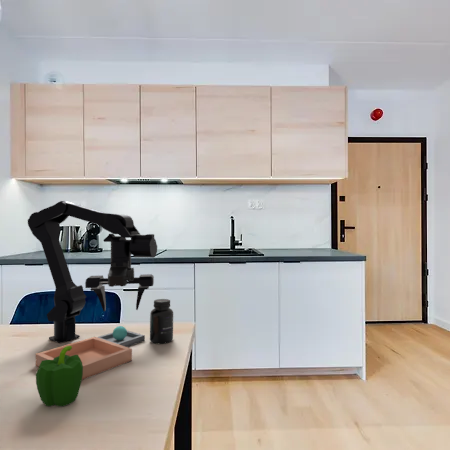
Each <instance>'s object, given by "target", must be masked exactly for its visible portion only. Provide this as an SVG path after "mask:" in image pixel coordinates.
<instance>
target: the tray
mask: <svg viewBox="0 0 450 450" xmlns="http://www.w3.org/2000/svg"><path fill="white" fill-rule="evenodd" d="M96 337H97V338H100V339H104V340H107V341H110V342H113V343H116V344H119V345H122V346H125V347H128V348H129V347H131V346H133V345H136V344H139V343H142V342H144V341H145V338H146V336H145V334H141V333H137V332H134V331H130V330H127V335H126V337H125V338H124V339H123V340H116V339H115V338H114V337H113V332H110V333H107V334H104V335H103V334H102V335H99V336H96Z"/></svg>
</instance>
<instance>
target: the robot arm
mask: <svg viewBox="0 0 450 450" xmlns="http://www.w3.org/2000/svg"><path fill="white" fill-rule="evenodd" d="M69 217H71V218H75V219H77V220H78V219H79V220H82V221H84V222H88V223H92V224H95V225H98V226H99V227H101V228H102V229H104V230H105V231H107V232H109V234H108V235H107V236H106V237H105V238H103V242H104V243H105V242H106V243H107V242H109V243H110V266H109V267H110V268H109V270H108V273H107V278H106V277H105V278H104V275H89V277H87V278H86V279H85V283H84V284H85V286H84V287H85V289H89V290H90V291H91V292H94V293H95V294H96V296H97V298H98V300H99V303H100V305H101V308H102V311H103V312H106V310H107V309H106V308H107V307H106V306H107V305H106V304H107V302H106V301H107V300H106V299H107V298H106V290H105V289H106V288H105V285H107V286H108V287H112V288H113V287H126V286H127V285H133V284H137V285H138V287H137V296H136V303H135V310H136V311H138V310H139V308H140V307H139V306H140V304H141V300H142V296H143V294H144V292H145V290H149V288H150V287H153V286H154V283H155V279H154V278H155V277H154V275H153V274H152V273H151V274H149V273H148V274H140V275H139V277H135V268H134V267H132V256H133V257H134V258H148V259H149V258H155V257H156V256H157V254H158V244H157V241H156V238H155V234H154V233H149V234H141V233H140V232H139V230H138V228H137V227H136V226H135V224H134V219H133V217H131V216H130V215H128V214H117V213H110V212H109V213H108V212H103V211H100V210H96V209H92V208H90V207H87V206H82V205H80V204H77V203H73V202H71V201H65V200H60V201H58V202H56V203H55V204H52V205H50V206H48V207H46V208H43V209H41V210H39V211H35V212H33V213H31V214H30V216H29V218H27V226H28V228H29V230H30V232H31V234H32V235H33V236H34V238H36V239H37V240H38V242H40V244H41V247H42V250H43V253H44V257H45V260H46V261H47V266H48V267H49V271H50V274H51V277H52V281H53V284H54V286H55V291H54V296H53V302H54V307H52V308H51V310H50V311H48V313H47V314H46V317H47V320H48V322H51V323H52V322H53V336H49V337H48V340H51V341H53V342H56V343H59V344H61V343H65V342H67V341H72V340H76V339H79V338H81V336H80V335H79V334H76V316H80V314H81V312H82V310H83V308H84V307H85V305H86V298H87V295H86V294H85V291H84V287H83V285H81V284H80V285H76V284H75V282H74V281H73V279H72V276H71V275H72V274H71V271H70V269H69V266H68V263H67V259H66V257H65V254H64V251H63V248H62V246H61V241H60V240H59V239H60V232H61V225H60V224H62V223H64V222H65V221H66V220H67V219H68V218H69ZM129 238H130V239H129Z"/></svg>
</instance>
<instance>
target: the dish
mask: <svg viewBox="0 0 450 450" xmlns="http://www.w3.org/2000/svg"><path fill="white" fill-rule="evenodd" d="M97 337H98V336H93V337H89V338H85V339H82V340H78V341H75V342H71V343H69V344H65V345H61V346H58V347H55V348H51V349H47V350H44V351H41V352H37V353H35V367H36V368H37V369H38V368H39V366H40V364H41V361H44V360H53V359H54V358H55V357H58V356H60V353H61V351H62V349H63V348H65V347H66V346H72V349H71V350H70V351H67V352H66V353H65V355H68V356H73V355H78V356H79V358H80V359H81V362H82V365H83V376H82V381H84V380H86V379H89V378H91V377H94V376H97V375H99V374H102V373H103V372H106V371H108V370H112V369H114V368H116V367H119V366H121V365H124V364H126V363H127V364H128V363H129V362H131V361H133V348H130V347H129V346H128V347H125V346H122V345H119V344H116V343H113V342H110V341H107V340H104V339H100V338H97Z"/></svg>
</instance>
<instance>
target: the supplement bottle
mask: <svg viewBox="0 0 450 450" xmlns="http://www.w3.org/2000/svg"><path fill="white" fill-rule="evenodd" d="M170 307H171V299H167V298H158V299H155V300H153V309H152V310H150V312H149V313H150V314H149V316H150V317H149V341H150V342H151V344H155V345H166V344H169V343H171V342H172V341H173V339H174V310H173V309H172V308H170Z"/></svg>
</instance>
